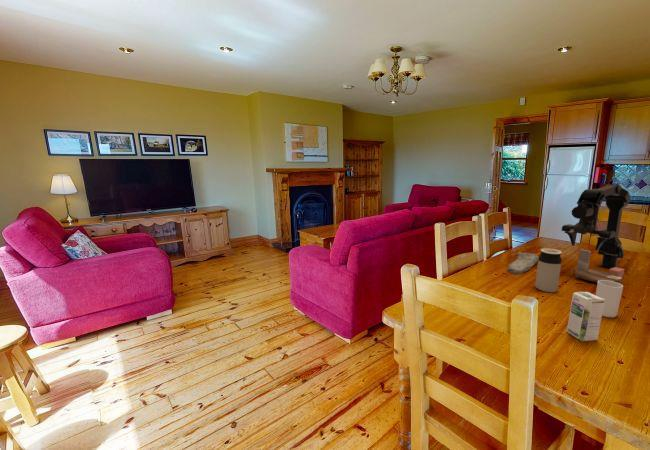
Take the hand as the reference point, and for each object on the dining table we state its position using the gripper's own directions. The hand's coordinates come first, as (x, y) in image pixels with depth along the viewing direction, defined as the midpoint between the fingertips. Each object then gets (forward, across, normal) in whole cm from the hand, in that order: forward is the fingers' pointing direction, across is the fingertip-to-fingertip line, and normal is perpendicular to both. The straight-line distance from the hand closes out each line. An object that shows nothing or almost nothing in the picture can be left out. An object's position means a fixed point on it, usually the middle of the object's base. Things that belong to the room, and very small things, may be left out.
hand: (584, 248), depth 140 cm
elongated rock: (+15, -23, -6) cm, 28 cm away
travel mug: (+15, 0, -29) cm, 32 cm away
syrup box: (+15, +26, -58) cm, 65 cm away
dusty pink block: (+15, +8, +14) cm, 22 cm away
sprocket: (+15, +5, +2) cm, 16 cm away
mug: (+15, +22, -32) cm, 41 cm away
